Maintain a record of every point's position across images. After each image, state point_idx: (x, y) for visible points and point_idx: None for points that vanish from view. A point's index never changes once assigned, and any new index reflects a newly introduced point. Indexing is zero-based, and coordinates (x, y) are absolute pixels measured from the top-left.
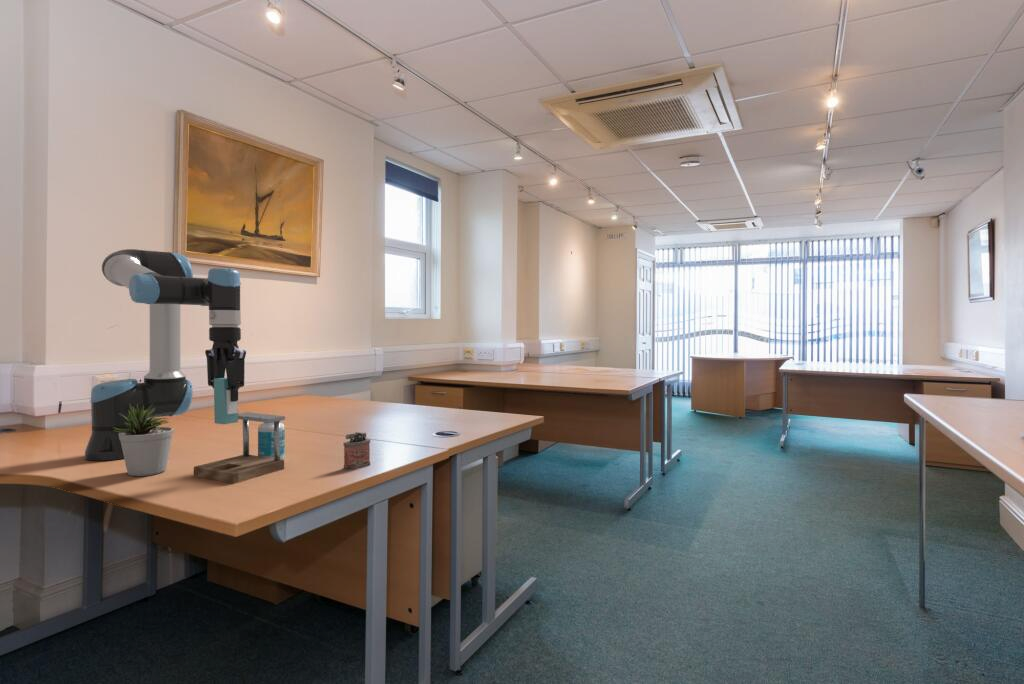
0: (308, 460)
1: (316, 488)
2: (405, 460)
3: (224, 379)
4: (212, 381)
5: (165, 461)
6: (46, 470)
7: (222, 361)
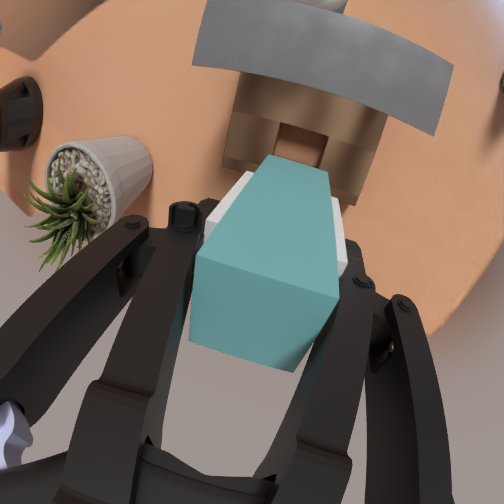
0: (398, 5)
1: (495, 214)
2: None
3: (294, 368)
4: (132, 268)
5: (142, 159)
6: (34, 196)
7: (151, 442)
